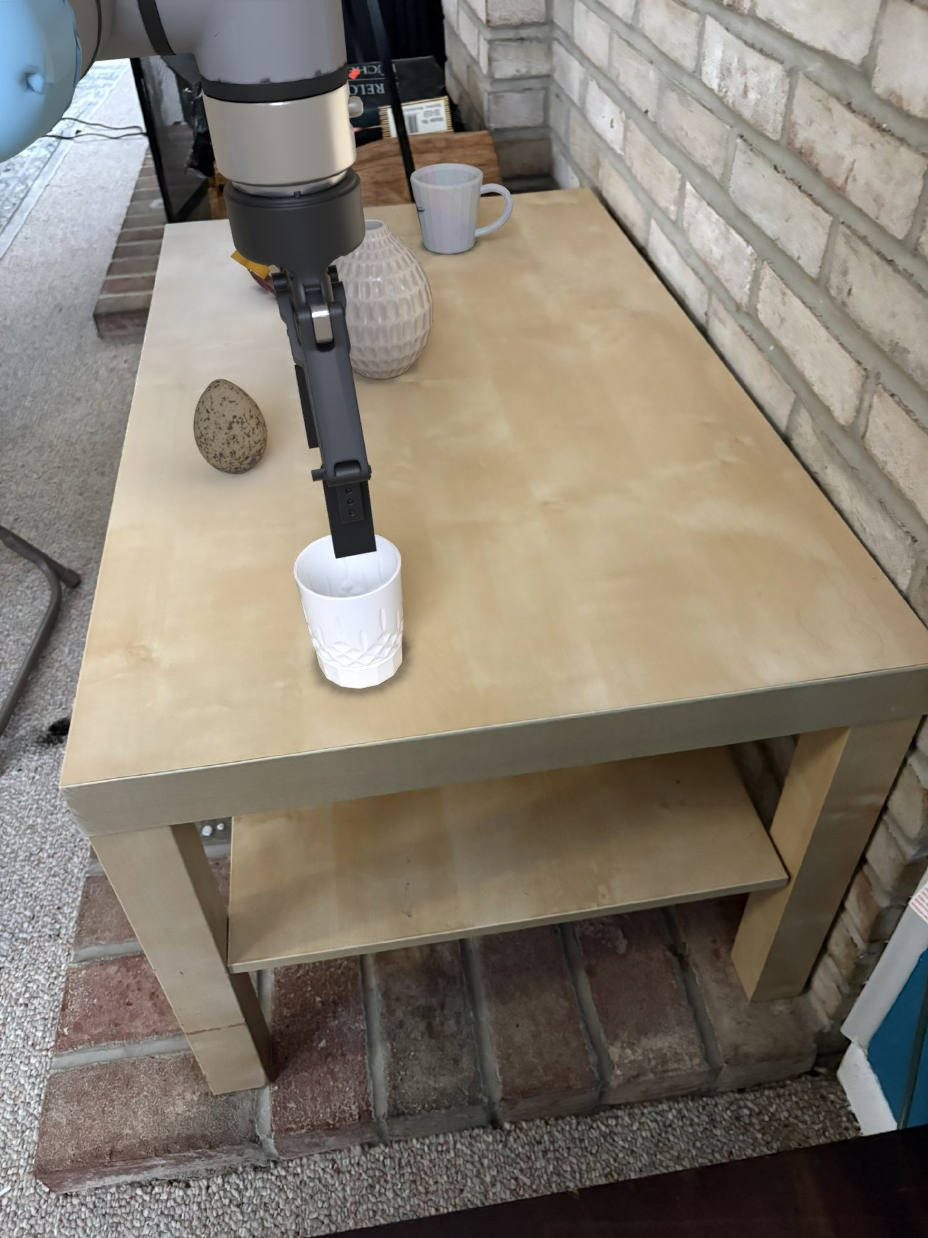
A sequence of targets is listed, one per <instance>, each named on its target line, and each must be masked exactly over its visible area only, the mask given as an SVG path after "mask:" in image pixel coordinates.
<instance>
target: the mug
mask: <svg viewBox="0 0 928 1238" xmlns="http://www.w3.org/2000/svg"><path fill="white" fill-rule="evenodd" d="M409 180H410V184H411V189H412V194H413V198H414V203H415V209H416V213H417V217H418V218H417V219H418V222H419V227H420V232H421V237H422V242H423V246H424V247H425V248H426V250H428V251H430V252H432V253H435V254H441V255H453V254H454V255H455V254H460V253H464V252H466V251H468V250H470V249H472V248H473V247H474V246H475V243H476V238H477V237H484V236H487V235H490V234H492V233H494V232H495V231H497V230H499V229H500V228H501V227H502V226H504V225H505V224H506V222H508V220H509V219H510V217H511V215H512V213H513V209H514V204H515V203H514V200H513V197H512V195H511V192H510V191H509V190H508V189H507V188H506V187H505V186H504V185H501V184H498V183H486V184H483V180H484V173H483V171H482V170H481V169H480V168H478V167H476V166H474V165H470V164H465V163H457V162H456V163H455V162H451V163H450V162H444V163H443V162H442V163H435V164H430V165H425V166H422V167H420V168H417V169H415V171H413V172H411V175H410V179H409ZM487 193H497V194H500V195H501V196H502V197H503V199H504V202H505V205H504V210H503V212H502V214H501V215H500V216H499V217H498V218H497V219H496V220H495V221H493V222H492V223H490V224H488V225H486V226H484V227H480V228H478V218H479V210H480V203H481V196H482V195H485V194H487Z"/></svg>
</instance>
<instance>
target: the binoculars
mask: <svg viewBox="0 0 928 1238" xmlns="http://www.w3.org/2000/svg"><path fill="white" fill-rule="evenodd" d="M229 257H230V258H231V259H233V260H234V261H235V262H237V263H238V264H240V265H241V266H242V267H244V268H246V269H247V271H248V272H249V275H250V276H251V277H252V279H253V280H254V281H255V282H256V283H257V284H258V285H259V286H260V287H261V288H262V289H263V290H265V291H267V290H269V292H270V293H272V295H274V296H275V293H274V288H273V283H272V278H271V275H270V274H269V273H270V272H271V270H270V269H269V267H270V266H265V265H260V264H257V263H254V262H251V261H249V260H247V259H246V258H244V257H243V256H242V255H240V254H239V252H238V251H237V250H236V249H235V251H234V252H233V253H232V254H231V255H230V256H229ZM275 268H277V269H278V270H279V266H275Z"/></svg>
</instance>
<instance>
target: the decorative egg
mask: <svg viewBox="0 0 928 1238" xmlns="http://www.w3.org/2000/svg"><path fill="white" fill-rule="evenodd" d="M192 423H193V424H192V426H193V427H192V429H193V431H192V432H193V437H194V441H195V444H196V447H197V449H198V451H199V453H200V454H201V456H202V458H203V459H204V460H205V461H206V463H208V464H209V466H211V467H213V468H214V469H216V470H217V471H220V472H221V473H222V472H223V473H226V474H233V475H235V474H242V473H246V472H247V471H249V470H251V469H253V468H254V467H255V466H256V465H257V464H258V463H259V462H260V461H261V459H262V458H263V456H264V454H265V451H266V449H267V445H268V428H267V424H266V420H265V417H264V415H263V413H262V410H261V408H260V407H259V405H258V403H257V402H256V401H255V400H254V399H253V397H251V396H250V394H249V393H248V392H247V391H245V389H243V388H242V387H240V386H238V385H237V384H236V383H234V382H233V381H230V380H227V379H224V378H218V379H214V380H213V381H211V382H210V383H209V384H208V385H207V386H206V388H205V390H203V392H202V394H201V395H200V397H199V399H198V401H197V403H196V406H195V410H194V415H193V422H192Z"/></svg>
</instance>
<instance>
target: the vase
mask: <svg viewBox="0 0 928 1238" xmlns="http://www.w3.org/2000/svg"><path fill="white" fill-rule="evenodd" d="M364 220H365V230H366V231H365V237H364V240H363V241H362V243H361V244H360V246H359V247H358V248H357V249H355V250H354V251H353V252H351V253H350V254H348V255H346V256H341V257H339V258H337V259H336V260H334V261H333V262H332V263H331V264H330V265H336V267H337V271H338V277H339V281H342V282H343V285H344V290H345V295H346V300H347V305H346V311H345V312H346V316H345V317H346V323H347V328H348V333H349V338H350V343H351V351H350V361H351V366H352V370H354V371H355V372H356V373H357V374H359V375H361V376H362V377H365V378H367V379H372V380H387V379H388V380H389V379H395V378H396V377H399V376H401V375H403V374H405V373H406V372H407V371H408V370H410V368H411V367H412V366H413V364H415V362H416V361H417V360H418V359H419V357H420V356H421V354H422V352H423V350H424V349H425V347H426V344H427V343H428V340H429V338H430V335H431V331H432V326H433V321H434V301H433V292H432V288H431V287H432V286H431V282H430V280H429V276H428V275H427V272H426V270H425V269H424V267H423V264H422V262H421V260H420V259H419V258H418V256H417V254H416V252H414V251H413V249H412V248H411V247H410V246H409V245H408V244H407V243H406V242H405V241H404V240H403V239H402V238H401V237H399V236H398V235H396V234H395V233H394V232H392V231H391V229H390V227H389V224H388V223H387V222H386V221H384V220H381V219H377V218H367V219H364Z"/></svg>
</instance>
